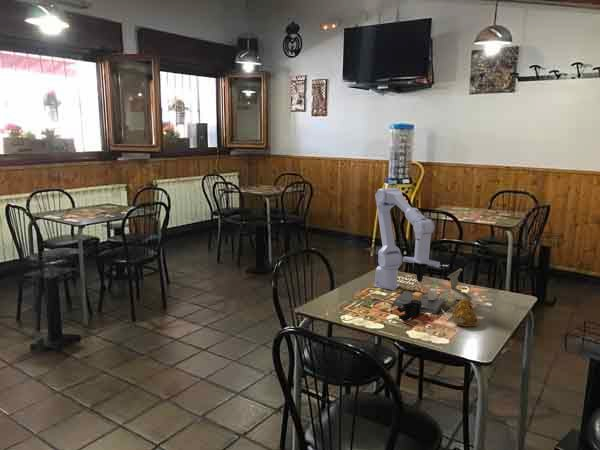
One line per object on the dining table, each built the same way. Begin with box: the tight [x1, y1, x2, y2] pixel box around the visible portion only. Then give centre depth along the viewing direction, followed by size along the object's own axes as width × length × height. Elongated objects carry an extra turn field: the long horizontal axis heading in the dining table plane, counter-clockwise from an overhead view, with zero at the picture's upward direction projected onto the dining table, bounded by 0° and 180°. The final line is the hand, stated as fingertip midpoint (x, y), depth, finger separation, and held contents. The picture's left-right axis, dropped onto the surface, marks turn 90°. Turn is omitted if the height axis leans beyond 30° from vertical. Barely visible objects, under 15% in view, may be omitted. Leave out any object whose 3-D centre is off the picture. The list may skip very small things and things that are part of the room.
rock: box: [452, 300, 479, 327], centre depth 175 cm, size 11×8×10 cm
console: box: [392, 291, 446, 315], centre depth 193 cm, size 17×15×2 cm
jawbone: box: [447, 267, 473, 302], centre depth 204 cm, size 14×8×15 cm
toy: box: [396, 300, 422, 322], centre depth 178 cm, size 15×5×7 cm, turn 144°
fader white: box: [427, 288, 438, 300], centre depth 194 cm, size 2×4×4 cm, turn 150°
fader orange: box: [412, 291, 423, 301], centre depth 189 cm, size 2×4×4 cm, turn 150°
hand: (419, 281), depth 196 cm, fingers closed
